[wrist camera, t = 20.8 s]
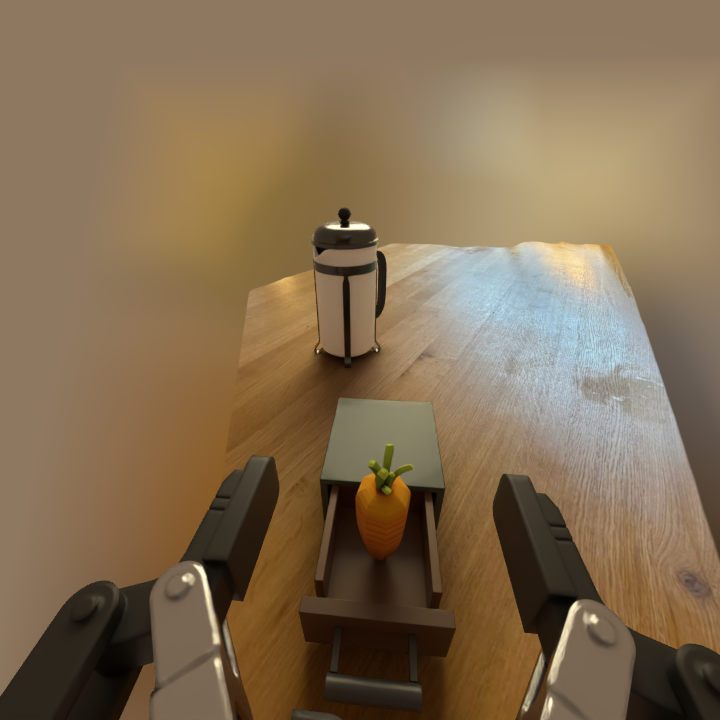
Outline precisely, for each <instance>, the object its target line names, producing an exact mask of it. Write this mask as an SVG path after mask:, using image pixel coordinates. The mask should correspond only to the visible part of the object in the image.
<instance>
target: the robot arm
mask: <svg viewBox="0 0 720 720" xmlns="http://www.w3.org/2000/svg"><path fill="white" fill-rule="evenodd" d="M278 495H279V480H278V475H277V470H276V465H275V460H274V458H273V457H269V456H255V455H252V456H251V457H250V458H249V460H248V462H247V464H246V466H245V468H244V470H234V471H233V472H232V473H231V474H230V475H229V476H228V477H227V478H226V479H225V480H224V481H223V483H222V484H221V486H220V488H219V490H218V492H217V494H216V498H214V500H213V501H212V503H211V505H210V509H209V510H208V511H207V513H206V515H205V517H204V518H203V521H202V522H201V524H200V526H199V528H198V530H197V532H196V534H195V536H194V538H193V539H192V541H191V543H190V545H189V547H188V549H187V551H186V553H185V554H184V556H183V557H182V559H181V560H180V561H179V563H178V564H175V565H174V566H172V567H170V568H169V569H168V570H166V571H165V572H164V573H163V574H162V575H161V576H160V577H159V578H157V579H155V580H152V581H149V582H144V583H140V584H137V585H133V586H129V587H125V588H121V589H118V588H117V586H116V585H115V584H114V583H113V582H110V581H98V582H94V583H92V584H89V585H87V586H85V587H84V588H82V589H80V590H79V591H78V592H76V593H75V594H74V595H73V596H72V597H70V598H69V600H68V601H67V602H66V603H65V604H64V605H63V606H62V608H61V609H60V611H59V612H58V613H57V615H56V616H55V618H54V619H53V621H52V622H51V624H50V625H49V627H48V628H47V630H46V631H45V632H44V634H43V635H42V637H41V638H40V640H39V641H38V643H37V644H36V646H35V647H34V648H33V650H32V651H31V653H30V654H29V656H28V657H27V659H26V660H25V662H24V663H23V664H22V666H21V667H20V669H19V670H18V672H17V673H16V675H15V676H14V678H13V679H12V680H11V682H10V684H9V685H8V686H7V688H6V689H5V691H4V692H3V694H2V695H1V696H0V720H119V719H120V716H121V714H122V712H123V710H124V707H125V705H126V703H127V701H128V699H129V696H130V694H131V692H132V689H133V687H134V685H135V683H136V680H137V678H138V676H139V674H140V672H141V669H142V667H143V665H146V664H149V663H153V662H154V669H155V688H154V691H153V692H152V693H151V695H150V701H149V720H253V717H252V713H251V709H250V705H249V702H248V699H247V696H246V693H245V690H244V687H243V683H242V679H241V675H240V671H239V667H238V663H237V659H236V655H235V650H234V646H233V642H232V638H231V634H230V629H229V625H228V621H227V617H226V615H227V612H228V609H229V607H230V604H231V601H232V600H237V601H243V600H244V597H245V594H246V591H247V588H248V585H249V582H250V579H251V576H252V573H253V571H254V568H255V565H256V562H257V559H258V556H259V553H260V550H261V547H262V544H263V541H264V538H265V535H266V532H267V530H268V527H269V524H270V521H271V518H272V515H273V512H274V509H275V506H276V503H277V500H278ZM493 517H494V522H495V525H496V529H497V533H498V536H499V540H500V544H501V547H502V551H503V555H504V558H505V562H506V566H507V569H508V573H509V577H510V581H511V584H512V588H513V592H514V595H515V599H516V603H517V606H518V610H519V614H520V617H521V621H522V625H523V628H524V632H525V633H534V634H538V636H539V640H540V643H541V646H542V648H541V650H540V652H539V655H538V658H537V661H536V664H535V666H534V669H533V672H532V675H531V678H530V681H529V683H528V686H527V689H526V692H525V695H524V697H523V700H522V703H521V706H520V709H519V712H518V714H517V717H516V719H515V720H720V655H719V654H717V653H716V652H714V651H712V650H710V649H709V648H706V647H704V646H701V645H697V644H685V645H683V646H681V647H680V648H679V649H675V648H672V647H670V646H668V645H665V644H663V643H661V642H658V641H656V640H654V639H651V638H649V637H647V636H644V635H642V634H640V633H638V632H636V631H634V630H632V629H630V628H629V627H627V626H626V625H625V624H624V622H623V621H622V620H621V619H620V618H619V617H618V616H617V615H616V614H615V613H614V612H613V611H612V610H610V609H609V608H608V607H606V606H605V604H604V603H603V601H602V600H601V598H600V596H599V594H598V592H597V590H596V588H595V586H594V584H593V582H592V579H591V577H590V575H589V573H588V571H587V569H586V566H585V564H584V562H583V560H582V558H581V556H580V554H579V551H578V549H577V547H576V545H575V543H574V542H573V541H572V539H573V538H572V536H571V534H570V532H569V530H568V528H566V523H565V521H564V519H563V517H562V515H561V513H560V510H559V508H558V507H557V506H556V505H555V504H554V503H553V502H552V501H551V499H550V498H549V497H548V496H547V495H546V494H543V493H536V491H535V489H534V487H533V484H532V482H531V480H530V478H529V477H528V476H526V475H513V474H503V475H502V477H501V480H500V483H499V486H498V489H497V492H496V495H495V498H494V501H493ZM291 720H343V719H341V718H339V717H338V716H336V715H334V714H329V713H321V712H313V711H306V710H298V709H293V712H292V717H291Z"/></svg>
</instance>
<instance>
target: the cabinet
mask: <svg viewBox="0 0 720 720" xmlns="http://www.w3.org/2000/svg"><path fill="white" fill-rule="evenodd" d="M387 444H393V445H394V452H393V457H392V462H391V467H390V472H393V473H394V472H395V471H396V470H397V469H398V468H400V467H401V466H404V465H409V464H411V465H412V466H413V467H414V469H413V470H411V471H407V472H405V473H403V474H401V475H400V477H401V479H402V480H403V482H404V483H405V484H406V486H407V487H408V489H409V490H410V491H423V492H432V501H433V510H434V519H435V528H436V530H437V526H438V521H439V516H440V512H441V507H442V502H443V497H444V492H445V484H444V477H443V471H442V464H441V458H440V451H439V444H438V438H437V431H436V424H435V418H434V411H433V405H432V403H428V402H410V401H392V400H374V399H356V398H339V399H338V404H337V408H336V412H335V417H334V421H333V425H332V429H331V434H330V438H329V442H328V447H327V451H326V455H325V460H324V464H323V468H322V472H321V477H320V485H321V496H322V506H323V516H324V520H325V521H326V516H327V510H328V505H329V500H330V495H331V489H332V485H344V486H357V487H360V484H361V482H362V479H363V477H365V476H368V475H370V474H373V471H372V470H371V469H370V468H369V467H368V464H369V462H370V461H371V460H374V461H376V462H377V463H378V464H379V466H380V467H381V469H382V468H383V462H384V452H385V447H386V445H387ZM390 472H389V473H390Z"/></svg>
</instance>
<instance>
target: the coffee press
mask: <svg viewBox="0 0 720 720" xmlns="http://www.w3.org/2000/svg"><path fill="white" fill-rule="evenodd" d="M338 215H339V217H340V219H341V221H332V222H328V223H324V224H322V225H320V226H318V227H317V228H316V230H315V231H314V234H313V236H312V238H311V243H312V245H313V248H314V256H313V257H314V258H313V262H314V277H315V291H316V304H317V318H318V331H319V341H318V343H317V344H316V346H315V350H314V351H315V352H316V353H321V352H322V351H323V350H325V351H326V352H328V353H330V354H332V355H335V356H339V357H345V368H351V357H355V356H359V355H362V354H364V353H366V352H368V351H369V350H370V349H373V350H374V351H375V352H379V351H380V345H379V343H378V342H377V341H376V318H378V317H379V315H380V314H381V312H382V310H383V308H384V304H385V296H386V270H387V269H386V259H385V256H384V254H383V253H382V252H380V251H377V245H378V243H379V237H378V236H377V235H376V232H375V230H374V228H373V227H371V226H370V225H368V224H366V223H363V222H358V221H348V219H349V217H350V215H351V213H350V211H349V209H348V208H346V207H343V208H341V209H340V210H339V213H338ZM377 263H378V300H377V305H376V298H377ZM315 273H316V274H315ZM316 287H317V288H316ZM317 301H318V302H317ZM318 315H319V316H318ZM374 330H375V342H376V344H377V345H378V346H379V348H378V349H375V348H374V347H373V344H374ZM320 341H321V346H322V348H321V349H320V350H317V349H316V348H317V346H318V345H319V342H320Z"/></svg>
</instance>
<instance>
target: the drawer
mask: <svg viewBox="0 0 720 720" xmlns="http://www.w3.org/2000/svg"><path fill="white" fill-rule="evenodd" d="M358 489H359V487H357V486H344V485H332V489H331V495H330V500H329V505H328V510H327V516H326V521H325V526H324V531H323V536H322V542H321V547H320V552H319V557H318V563H317V568H316V573H315V578H314V582H315V588H316V595H317V597H311V596H302V599H301V604H300V609H299V615H300V619H301V624H302V628H303V633H304V638H305V641H307V642H316V643H325V644H333V649H332V657H331V665H330V672H327V674H326V679H325V686H324V701H330V702H338V703H346V704H354V705H362V706H370V707H378V708H385V709H393V710H401V711H409V712H417V713H422V687H421V684H420V683H418V667H417V654H422V655H431V656H439V657H446V655H447V652H448V650H449V647H450V644H451V641H452V638H453V635H454V633H455V630H456V625H455V617H454V611H447V610H438V608H439V604H440V600H441V596H442V583H441V574H440V565H439V556H438V547H437V538H436V528H435V519H434V510H433V501H432V492H423V491H410V493H411V497H410V503H409V509H408V514H407V518H406V523H405V527H404V531H403V535H402V539H401V541H400V544H399V546H398V548H397V549H396V551H395V553H393V554H392V555H391V556H390V557H388V558H386V559H384V560H382V561H380V560H377V559H375V558H373V557H372V556H371V555H370V554H369V552H368V550H367V548H366V546H365V544H364V542H363V540H362V537H361V534H360V531H359V528H358V524H357V516H356V501H355V498H356V494H357V492H358ZM341 645H342V646H351V647H360V648H369V649H378V650H386V651H395V652H404V653H409V682H404V681H396V680H388V679H379V678H371V677H363V676H355V675H346V674H338V668H339V659H340V650H341Z"/></svg>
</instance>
